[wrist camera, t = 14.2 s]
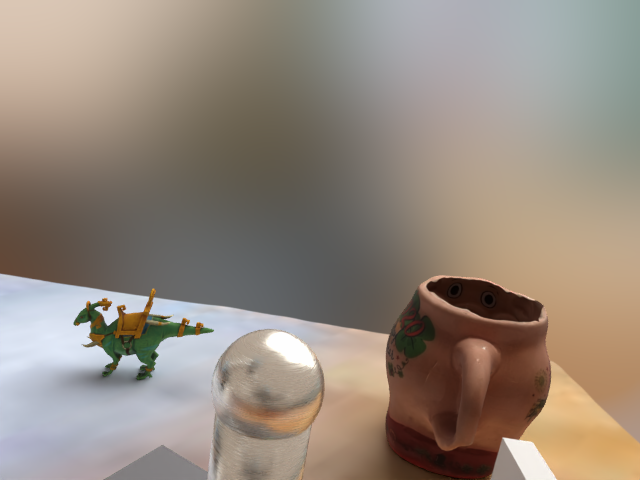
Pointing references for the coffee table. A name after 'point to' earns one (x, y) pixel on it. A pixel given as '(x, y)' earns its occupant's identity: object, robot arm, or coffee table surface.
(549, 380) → the decorative planter
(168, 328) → the figurine
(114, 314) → the coffee table surface
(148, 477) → the dial board
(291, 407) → the shiny silver rounded post
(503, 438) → the robot arm
